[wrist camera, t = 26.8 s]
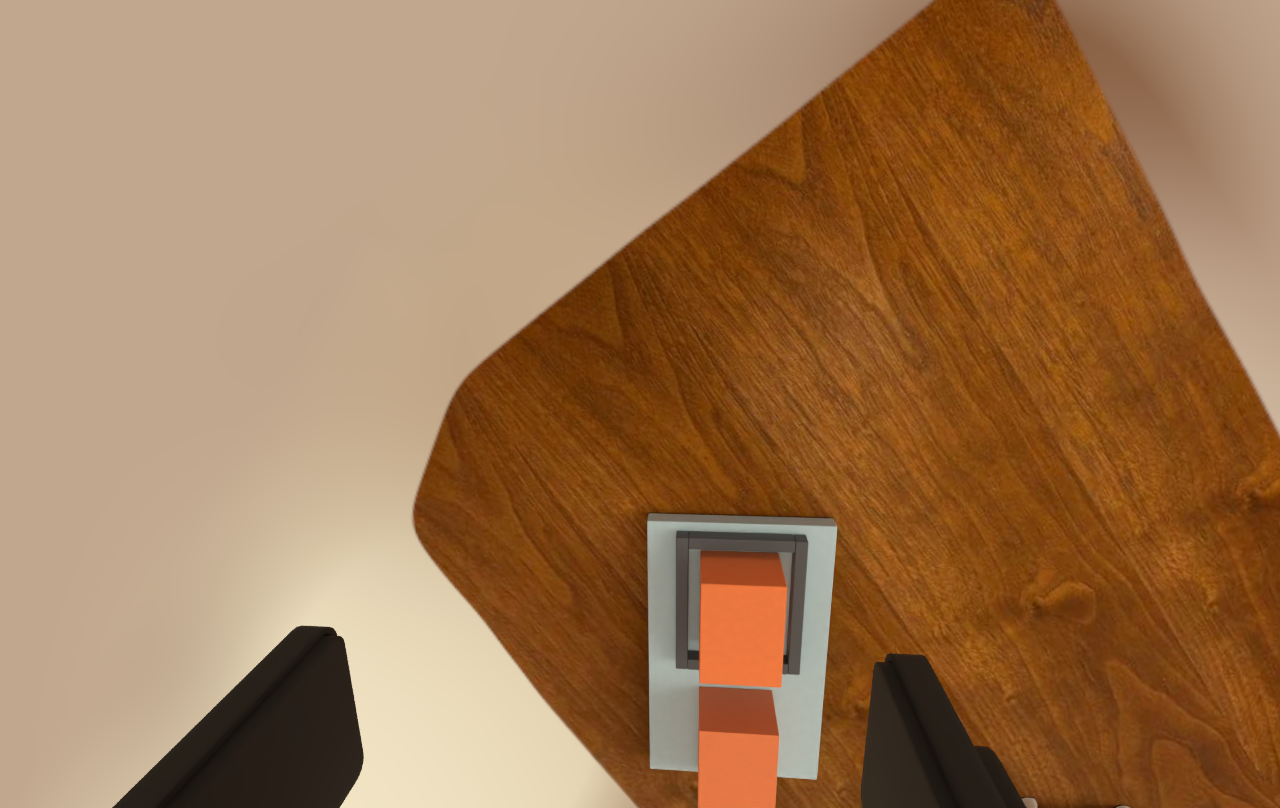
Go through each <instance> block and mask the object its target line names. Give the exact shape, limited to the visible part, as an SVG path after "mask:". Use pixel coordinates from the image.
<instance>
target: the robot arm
mask: <svg viewBox="0 0 1280 808" xmlns="http://www.w3.org/2000/svg"><path fill="white" fill-rule="evenodd" d="M363 758H364V757H363V748H362V742H361V736H360V730H359V725H358V719H357V713H356V707H355V701H354V695H353V689H352V683H351V677H350V671H349V666H348V660H347V654H346V648H345V643H344V639H343V638H342V637H340V636H337V633H336V631H335V630H334V629H333V628H331V627H318V626H299V627H296V628H295V629H294V630H292V631H291V632H290V633H289V634H288V635H287V636H286V637H285V638H284V639H283V640H282V641H281V642H280V643H279V644H278V645H277V646H276V647H275V648H274V649H273V650H272V651H271V652H270V653H269V654H268V655H267V656H266V657H265V658H264V659H263V660H262V661H261V662H260V663H259V664H258V665H257V666H256V667H255V668H254V669H253V670H252V671H251V672H250V673H249V674H248V675H247V676H246V677H245V678H244V679H243V680H242V681H241V682H240V683H239V684H238V685H236V686H235V687H234V689H233V690H231V691H230V693H228V694H227V695H226V696H225V697H224V698H223V699H222V700H221V701H220V702H219V703H218V704H217V705H216V706H215V707H214V708H213V709H212V710H211V711H210V712H209V713H208V714H207V715H206V716H205V717H204V718H203V719H202V720H201V721H200V722H199V723H198V724H197V725H196V726H195V727H194V728H193V729H192V730H191V731H190V732H189V733H188V734H187V735H186V736H185V737H184V738H183V739H182V740H181V741H180V742H179V743H178V744H177V745H176V746H175V747H174V748H172V749H171V751H169V753H167V754H166V755H165V756H164V758H162V759H161V760H160V761H159V762H158V763H157V764H156V765H155V766H154V767H153V768H152V769H151V770H150V771H149V772H148V773H147V774H146V775H145V776H144V777H143V778H142V779H141V780H140V781H139V782H138V783H137V784H136V785H135V786H134V787H133V788H132V789H131V790H130V791H129V792H128V793H127V794H126V795H125V796H124V797H123V798H122V799H121V800H120V801H119V802H118V803H117V804H116V805H115V806H114V807H113V808H340V806H341V805H342V803H343V801H344V800H345V798H346V797H347V795H348V793H349V792H350V790H351V789H352V787H353V785H354V784H355V782H356V780H357V779H358V777H359V775H360V772H361V769H362V765H363ZM861 800H862V808H1026V806H1025V804H1024V802H1023V800H1022V799H1021V797H1020V795H1019V793H1018V792H1017V790H1016V788H1015V786H1014V785H1013V783H1012V781H1011V779H1010V778H1009V776H1008V774H1007V772H1006V771H1005V769H1004V767H1003V765H1002V764H1001V762H1000V760H999V759H998V757H997V756H996V755H995V753H994V752H993V751H992V750H991V749H989V748H988V747H983V746H974V745H973V744H972V742H971V740H970V738H969V736H968V734H967V732H966V731H965V729H964V727H963V725H962V723H961V721H960V719H959V717H958V716H957V714H956V712H955V710H954V708H953V706H952V704H951V703H950V701H949V699H948V697H947V695H946V693H945V691H944V689H943V688H942V686H941V684H940V682H939V680H938V678H937V676H936V674H935V673H934V671H933V669H932V667H931V665H930V663H929V661H928V660H927V658H926V657H925V656H923V655H910V654H887V656H886V658H885V663H884V662H877V663H875V665H874V671H873V680H872V690H871V699H870V708H869V718H868V727H867V737H866V746H865V755H864V765H863V774H862V784H861Z"/></svg>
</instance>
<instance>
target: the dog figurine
mask: <svg viewBox="0 0 1280 808" xmlns="http://www.w3.org/2000/svg"><path fill="white" fill-rule="evenodd" d="M1022 800H1023V802H1024V804H1025V806H1026V808H1037V802H1036V800H1035V799H1034V798H1023V799H1022ZM1116 808H1129V807H1127V806H1118V807H1116Z"/></svg>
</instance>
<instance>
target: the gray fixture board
mask: <svg viewBox="0 0 1280 808" xmlns="http://www.w3.org/2000/svg"><path fill="white" fill-rule="evenodd" d="M836 537H837V525H836V523H835V521H834V519H833V518H799V517H764V516H728V515H692V514H657V513H649V514H648V519H647V554H648V640H649V725H650V768H651V769H666V770H681V771H696V772H698V808H775V801H776V784H777V777H786V778H801V779H817V770H818V758H819V746H820V733H821V721H822V709H823V696H824V684H825V672H826V660H827V647H828V635H829V623H830V610H831V598H832V586H833V574H834V561H835V549H836ZM701 550H709V551H739V552H769V553H779V556H780V560H781V564H782V568H783V572H784V576H785V580H786V584H787V601H786V618H785V635H784V652H783V669H782V686H781V688H778V687H759V686H740V685H721V684H703V683H699V616H700V551H701Z"/></svg>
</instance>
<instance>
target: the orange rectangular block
mask: <svg viewBox="0 0 1280 808" xmlns="http://www.w3.org/2000/svg"><path fill="white" fill-rule="evenodd" d="M786 601H787V584H786V580H785V576H784V572H783V568H782V564H781V560H780V556H779V553H769V552H739V551H709V550H701V551H700V616H699V683H703V684H721V685H740V686H759V687H778V688H781V686H782V669H783V652H784V635H785V618H786Z"/></svg>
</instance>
